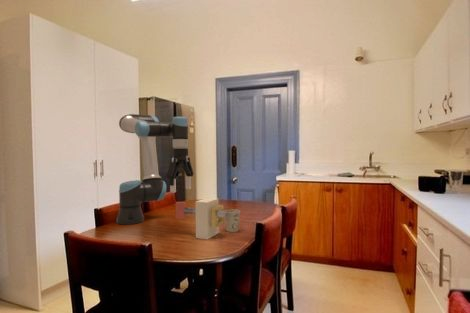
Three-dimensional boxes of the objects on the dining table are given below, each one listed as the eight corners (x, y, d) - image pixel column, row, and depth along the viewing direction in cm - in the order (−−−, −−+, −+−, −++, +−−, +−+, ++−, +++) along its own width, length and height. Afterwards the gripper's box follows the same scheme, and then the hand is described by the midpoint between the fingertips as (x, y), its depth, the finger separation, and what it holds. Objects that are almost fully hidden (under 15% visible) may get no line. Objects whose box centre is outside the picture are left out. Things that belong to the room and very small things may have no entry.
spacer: (211, 227, 135) (211, 208, 135) (220, 223, 144) (219, 204, 143) (215, 228, 135) (215, 208, 134) (223, 223, 143) (223, 205, 143)
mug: (228, 233, 144) (228, 213, 144) (218, 227, 155) (218, 208, 155) (243, 231, 148) (243, 211, 148) (232, 225, 159) (232, 207, 159)
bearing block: (195, 238, 137) (195, 201, 137) (208, 231, 148) (207, 197, 148) (207, 239, 135) (207, 202, 134) (218, 232, 146) (218, 198, 145)
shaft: (175, 218, 147) (175, 202, 147) (178, 217, 149) (178, 201, 149) (224, 223, 136) (224, 206, 136) (226, 221, 139) (226, 205, 139)
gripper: (172, 147, 133) (172, 194, 134) (199, 148, 156) (200, 188, 157) (158, 147, 136) (159, 193, 137) (187, 148, 159) (188, 187, 160)
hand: (181, 190), depth 147 cm, fingers open, 13 cm apart
